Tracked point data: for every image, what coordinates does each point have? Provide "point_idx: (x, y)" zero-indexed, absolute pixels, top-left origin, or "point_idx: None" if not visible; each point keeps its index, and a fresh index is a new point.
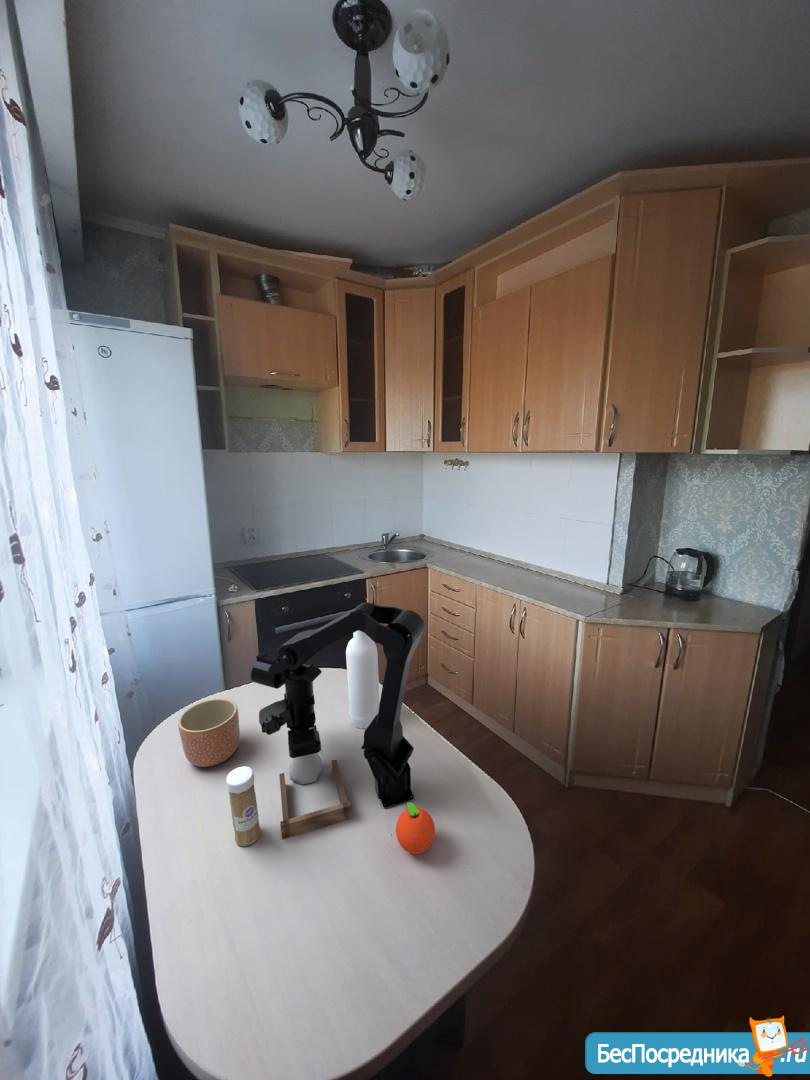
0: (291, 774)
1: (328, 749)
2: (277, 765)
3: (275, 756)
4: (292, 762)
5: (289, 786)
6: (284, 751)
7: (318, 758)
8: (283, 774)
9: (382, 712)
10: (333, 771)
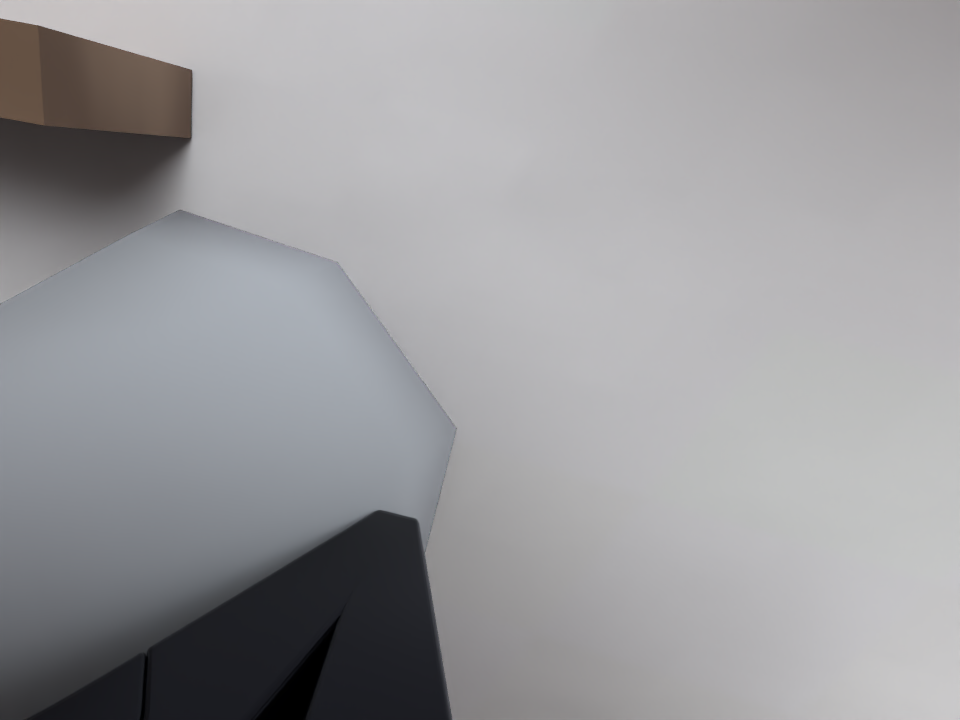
0: (114, 242)
1: (519, 705)
2: (601, 121)
3: (810, 137)
4: (167, 326)
5: (146, 177)
6: (824, 285)
7: None
8: (7, 101)
9: None
10: None
